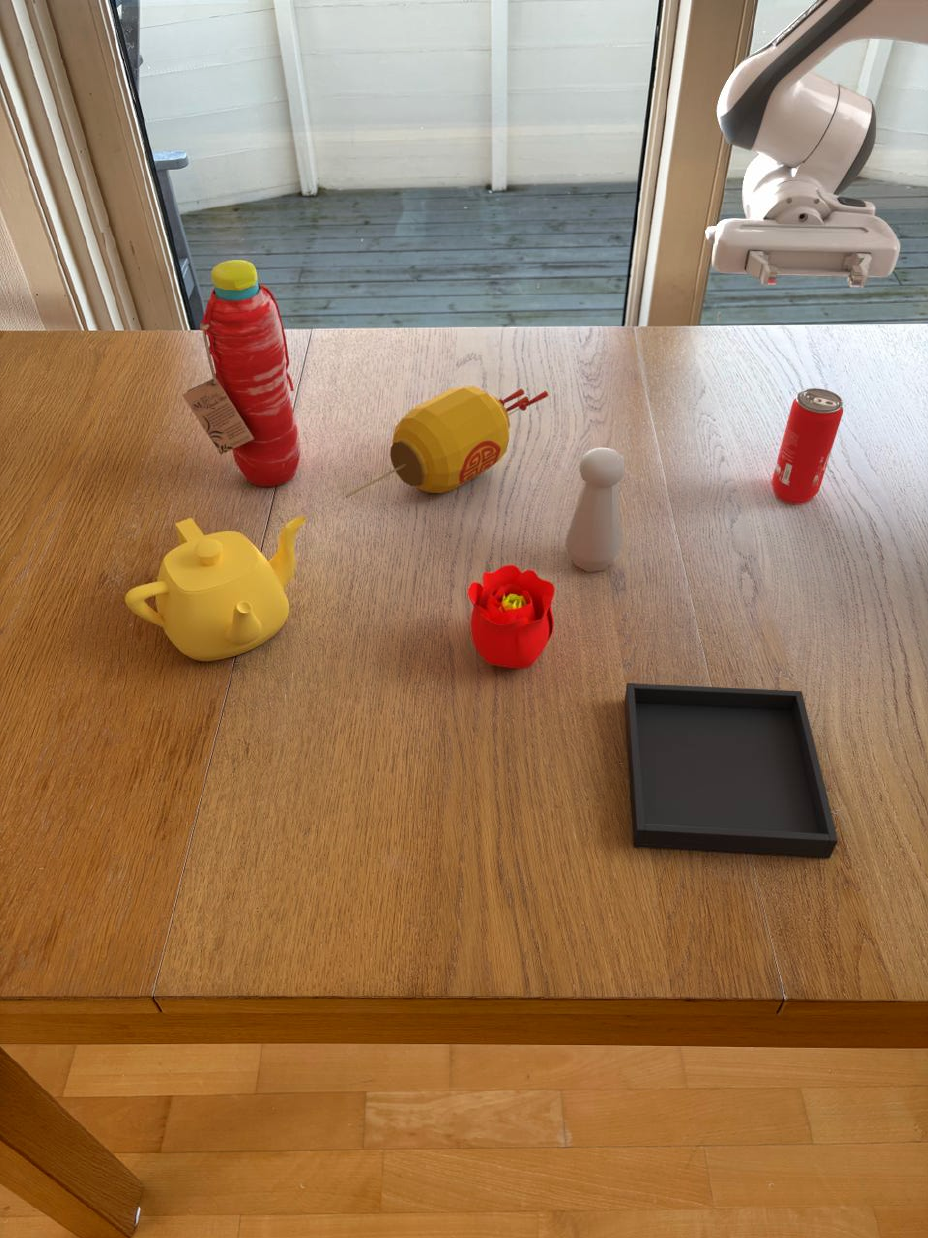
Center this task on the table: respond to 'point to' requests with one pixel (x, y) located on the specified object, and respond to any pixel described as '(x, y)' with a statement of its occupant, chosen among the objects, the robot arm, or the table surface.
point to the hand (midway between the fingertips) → (814, 279)
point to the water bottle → (247, 378)
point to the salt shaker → (597, 511)
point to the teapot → (219, 592)
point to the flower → (511, 616)
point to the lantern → (452, 438)
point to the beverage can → (806, 445)
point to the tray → (725, 771)
